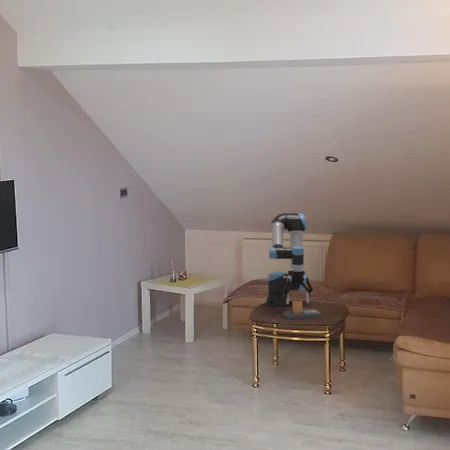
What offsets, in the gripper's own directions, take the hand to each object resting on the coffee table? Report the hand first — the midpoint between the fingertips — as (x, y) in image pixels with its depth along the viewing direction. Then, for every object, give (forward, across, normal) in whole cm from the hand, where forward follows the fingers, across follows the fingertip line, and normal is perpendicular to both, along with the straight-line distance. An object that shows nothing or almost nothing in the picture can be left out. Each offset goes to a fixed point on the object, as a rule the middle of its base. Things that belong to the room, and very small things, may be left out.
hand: (297, 303), depth 445 cm
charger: (+9, 0, 0) cm, 9 cm away
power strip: (+9, +3, 0) cm, 9 cm away
